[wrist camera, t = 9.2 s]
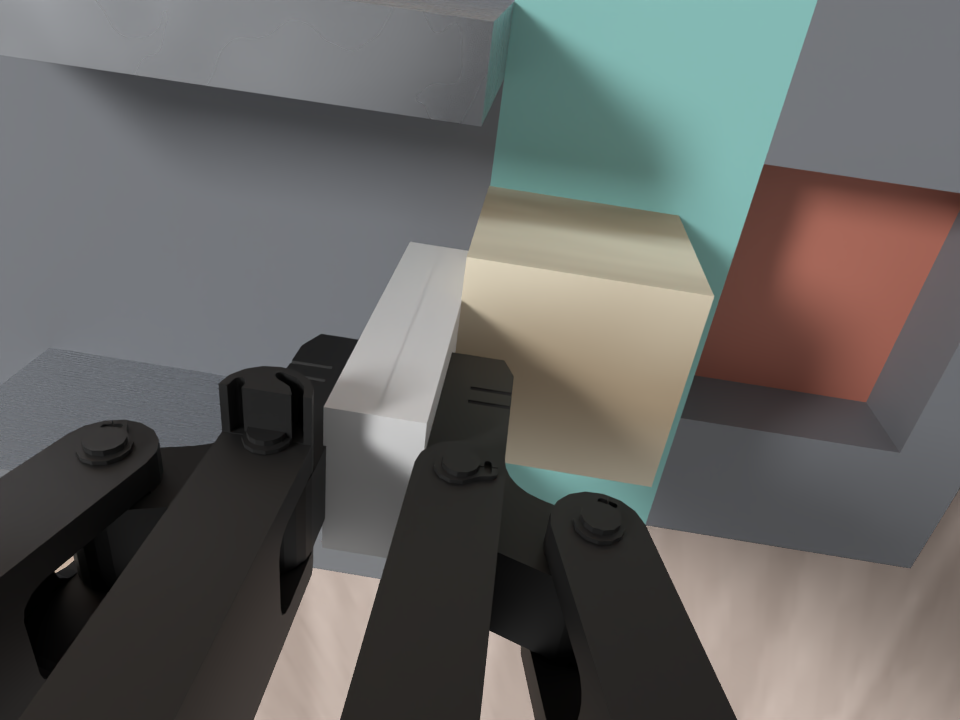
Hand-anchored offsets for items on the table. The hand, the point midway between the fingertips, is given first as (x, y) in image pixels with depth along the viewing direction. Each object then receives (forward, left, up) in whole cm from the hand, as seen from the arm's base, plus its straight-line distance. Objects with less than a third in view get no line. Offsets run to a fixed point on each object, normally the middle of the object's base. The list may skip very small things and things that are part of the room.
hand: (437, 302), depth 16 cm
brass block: (0, +3, -2) cm, 4 cm away
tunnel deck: (0, -3, -5) cm, 6 cm away
